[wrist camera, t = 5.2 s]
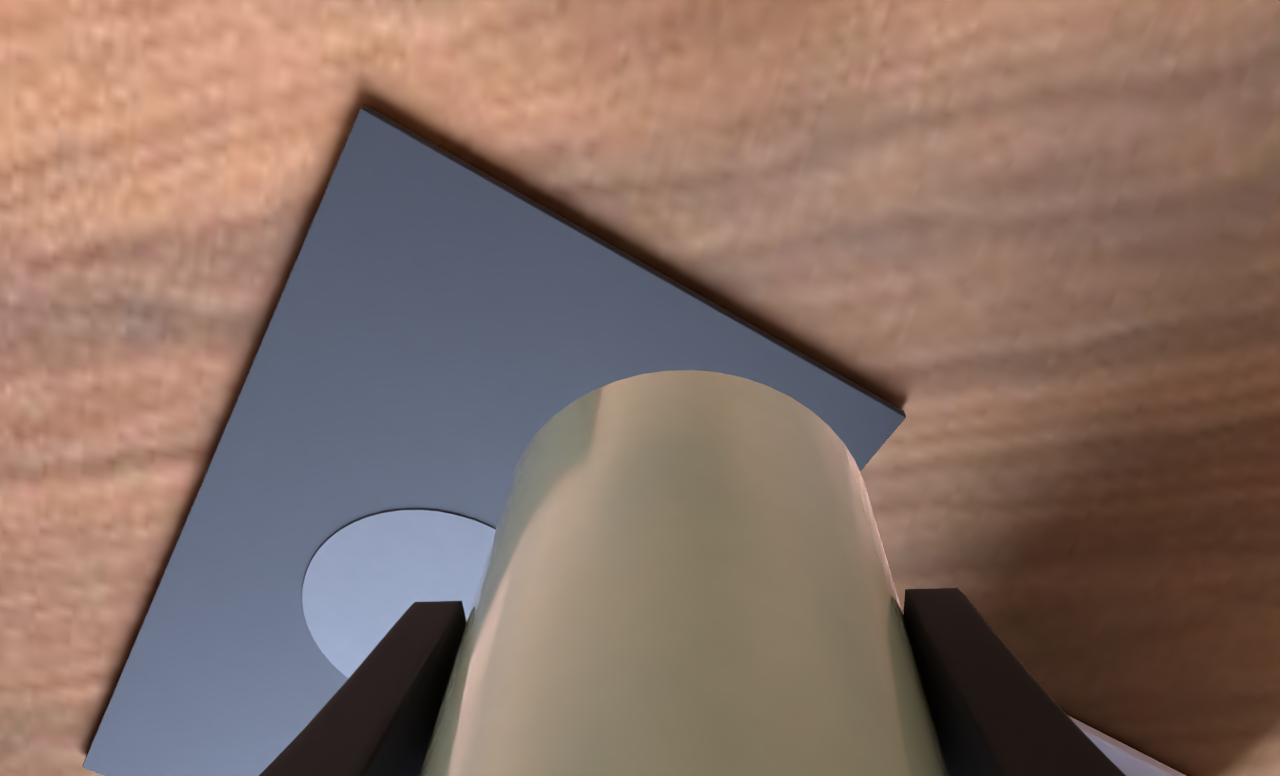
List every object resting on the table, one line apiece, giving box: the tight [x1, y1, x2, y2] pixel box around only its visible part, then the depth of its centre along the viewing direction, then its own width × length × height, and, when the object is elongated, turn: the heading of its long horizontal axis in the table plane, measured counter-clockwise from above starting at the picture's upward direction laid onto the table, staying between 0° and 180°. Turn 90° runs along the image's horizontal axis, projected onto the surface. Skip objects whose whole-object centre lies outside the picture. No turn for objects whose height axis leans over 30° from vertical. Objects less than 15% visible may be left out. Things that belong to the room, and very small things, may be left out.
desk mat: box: [82, 105, 906, 776], centre depth 24 cm, size 13×22×1 cm, turn 150°
